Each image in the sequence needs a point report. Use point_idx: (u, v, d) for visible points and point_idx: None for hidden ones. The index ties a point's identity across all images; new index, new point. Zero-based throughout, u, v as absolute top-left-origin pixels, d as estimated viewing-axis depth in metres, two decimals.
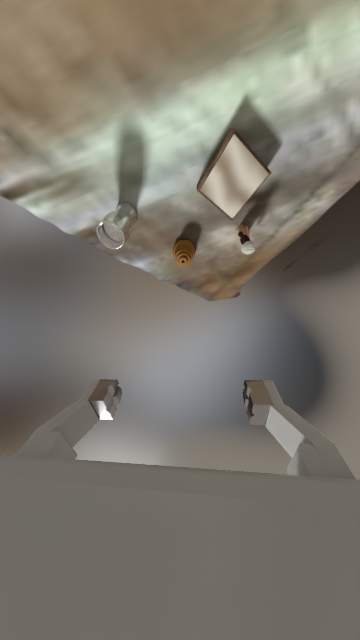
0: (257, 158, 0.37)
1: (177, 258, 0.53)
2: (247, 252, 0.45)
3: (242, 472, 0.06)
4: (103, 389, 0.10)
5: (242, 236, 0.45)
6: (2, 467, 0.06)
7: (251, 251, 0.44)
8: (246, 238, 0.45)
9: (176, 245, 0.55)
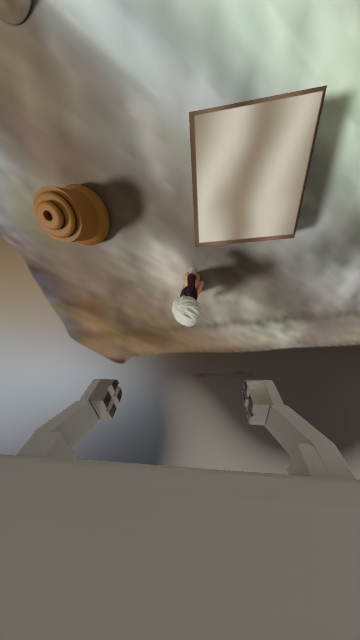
0: (301, 192, 0.18)
1: (41, 197, 0.19)
2: (180, 318, 0.19)
3: (242, 472, 0.06)
4: (103, 389, 0.10)
5: (191, 284, 0.21)
6: (2, 467, 0.06)
7: (187, 322, 0.19)
8: (194, 293, 0.21)
9: (73, 186, 0.22)
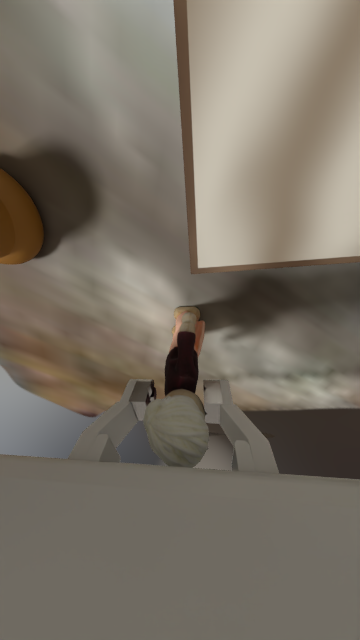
0: None
1: None
2: (160, 456, 0.08)
3: (242, 472, 0.06)
4: (142, 390, 0.10)
5: (186, 356, 0.10)
6: (2, 467, 0.06)
7: None
8: (193, 373, 0.10)
9: None
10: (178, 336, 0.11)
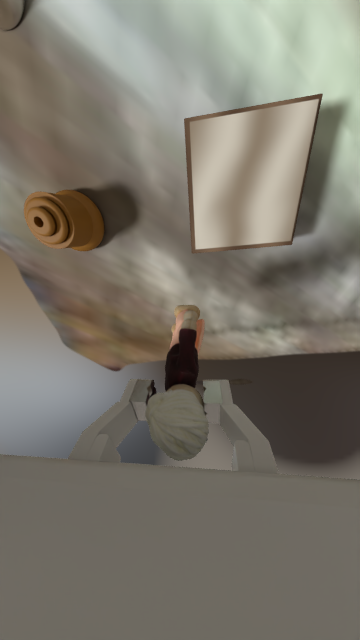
0: (299, 198, 0.18)
1: (32, 202, 0.18)
2: (161, 447, 0.08)
3: (242, 472, 0.06)
4: (142, 390, 0.10)
5: (188, 352, 0.10)
6: (2, 467, 0.06)
7: (177, 457, 0.08)
8: (193, 369, 0.11)
9: (66, 192, 0.22)
10: (180, 333, 0.11)
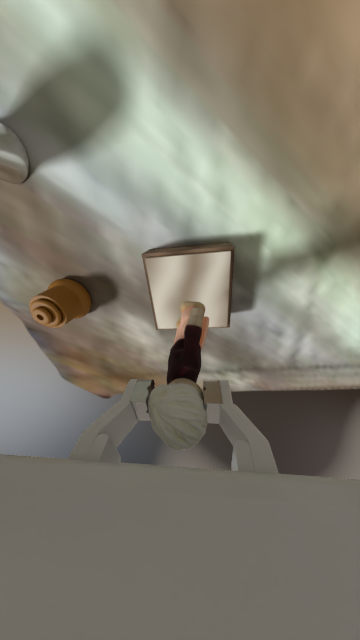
0: (229, 301, 0.25)
1: (35, 304, 0.25)
2: (161, 435, 0.09)
3: (242, 472, 0.06)
4: (143, 390, 0.10)
5: (192, 348, 0.11)
6: (2, 467, 0.06)
7: (176, 447, 0.08)
8: (196, 365, 0.11)
9: (61, 283, 0.28)
10: (186, 329, 0.11)
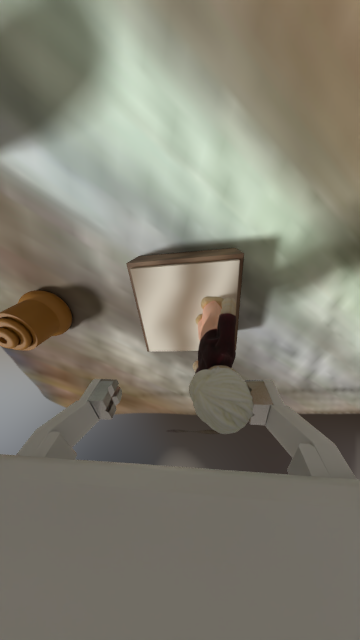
0: (236, 320, 0.20)
1: None
2: (208, 418, 0.09)
3: (242, 472, 0.06)
4: (103, 389, 0.10)
5: (229, 335, 0.11)
6: (2, 467, 0.06)
7: (223, 430, 0.08)
8: (232, 353, 0.11)
9: (33, 296, 0.24)
10: (221, 317, 0.11)
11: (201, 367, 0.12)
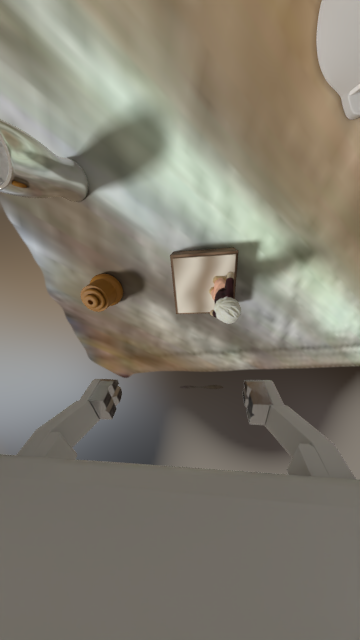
0: (233, 291, 0.33)
1: (87, 291, 0.33)
2: (223, 315, 0.22)
3: (242, 472, 0.06)
4: (103, 389, 0.10)
5: (231, 287, 0.24)
6: (2, 467, 0.06)
7: (229, 319, 0.21)
8: (232, 295, 0.24)
9: (102, 277, 0.36)
10: (227, 279, 0.24)
11: None
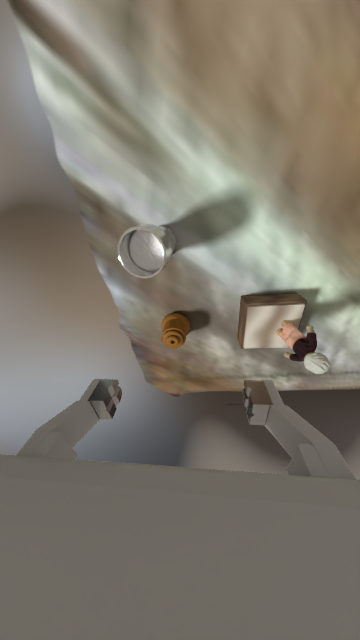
0: None
1: (169, 333, 0.38)
2: (315, 368, 0.27)
3: (242, 472, 0.06)
4: (103, 389, 0.10)
5: (315, 341, 0.29)
6: (2, 467, 0.06)
7: (320, 372, 0.27)
8: (315, 347, 0.29)
9: (176, 316, 0.42)
10: (310, 334, 0.29)
11: (300, 353, 0.30)
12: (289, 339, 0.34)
